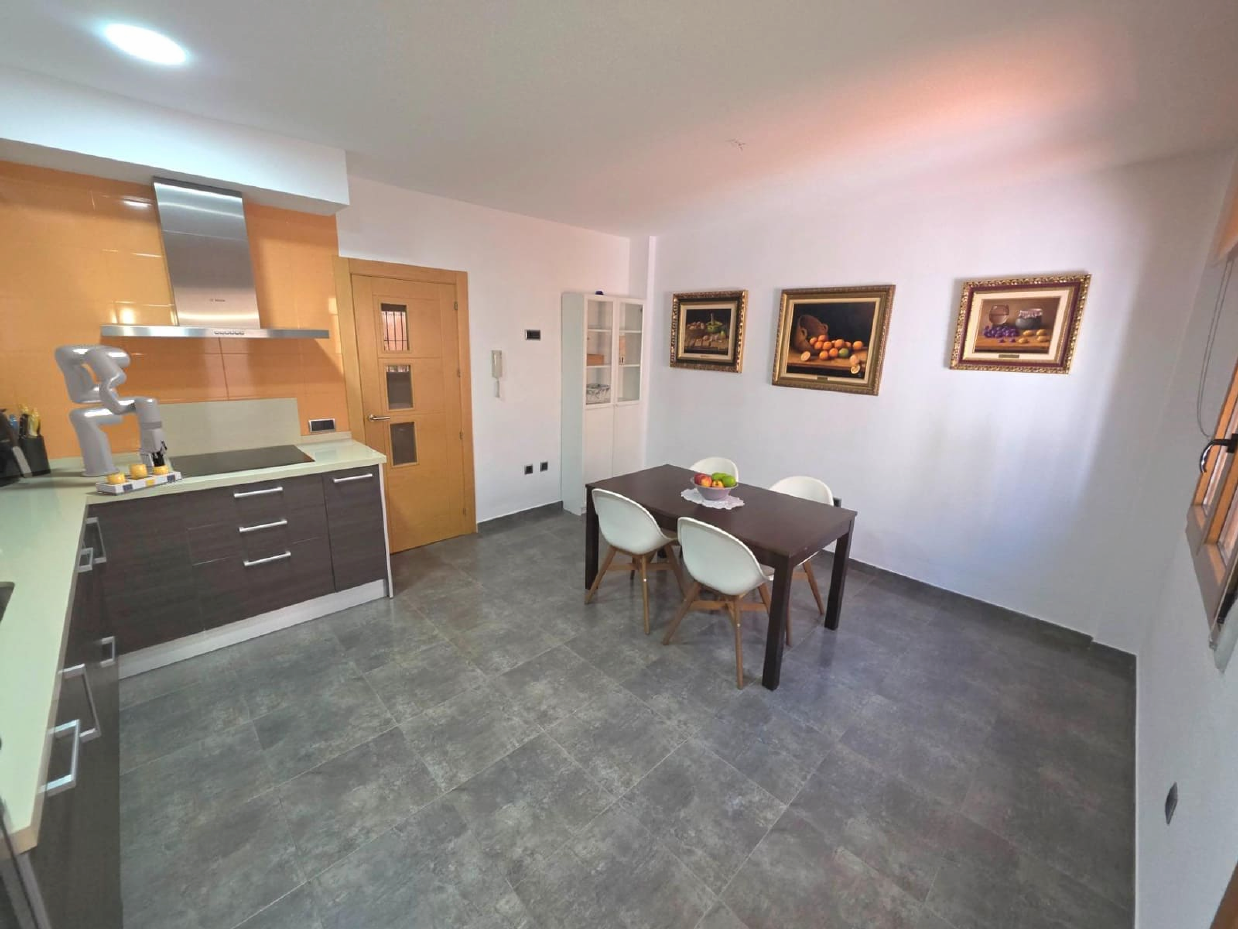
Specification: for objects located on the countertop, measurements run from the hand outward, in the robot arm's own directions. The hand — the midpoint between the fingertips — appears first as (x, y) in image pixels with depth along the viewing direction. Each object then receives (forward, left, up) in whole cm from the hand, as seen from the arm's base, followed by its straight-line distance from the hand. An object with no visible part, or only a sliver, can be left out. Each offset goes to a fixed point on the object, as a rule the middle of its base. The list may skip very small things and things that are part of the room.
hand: (159, 466), depth 220 cm
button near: (0, -16, -6) cm, 17 cm away
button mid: (0, -8, -4) cm, 9 cm away
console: (0, -8, -7) cm, 11 cm away
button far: (0, 0, -6) cm, 6 cm away
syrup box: (-14, +6, -8) cm, 17 cm away
